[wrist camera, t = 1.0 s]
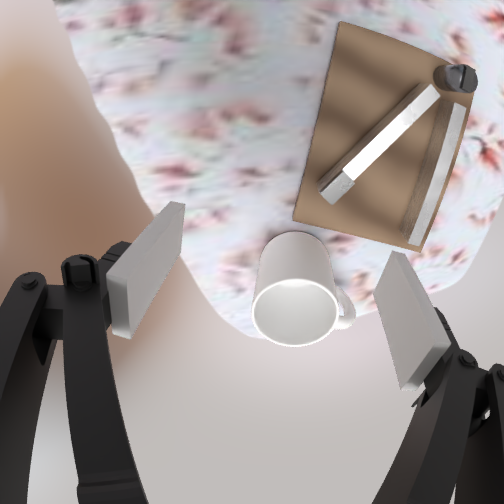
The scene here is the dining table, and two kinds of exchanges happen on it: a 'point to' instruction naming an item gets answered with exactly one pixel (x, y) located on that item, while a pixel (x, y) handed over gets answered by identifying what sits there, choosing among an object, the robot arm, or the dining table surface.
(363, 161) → the light grey long bar
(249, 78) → the dining table surface
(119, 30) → the dining table surface
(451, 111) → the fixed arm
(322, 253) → the mug
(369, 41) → the board
